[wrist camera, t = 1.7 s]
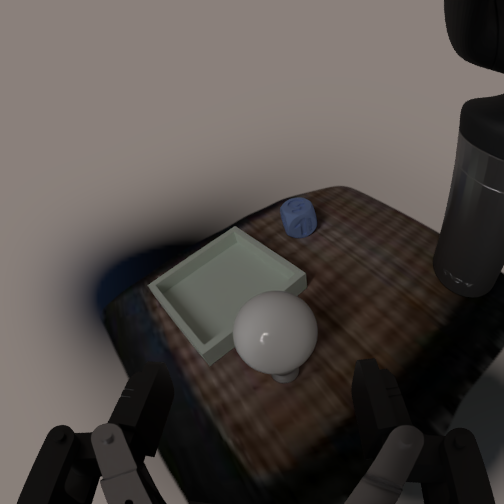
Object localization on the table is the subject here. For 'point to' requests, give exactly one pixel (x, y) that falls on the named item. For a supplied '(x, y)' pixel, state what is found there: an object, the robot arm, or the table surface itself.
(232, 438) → the table surface
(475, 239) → the robot arm
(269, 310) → the lightbulb
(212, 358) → the parts tray
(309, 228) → the decorative dice
